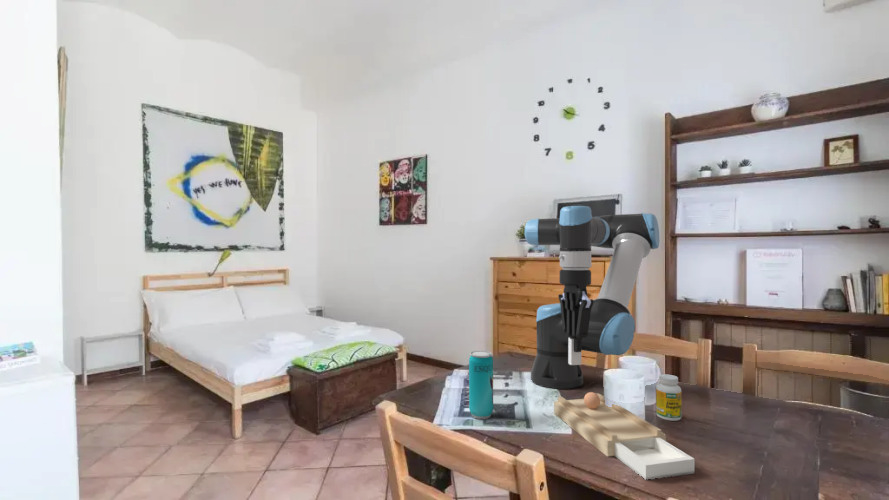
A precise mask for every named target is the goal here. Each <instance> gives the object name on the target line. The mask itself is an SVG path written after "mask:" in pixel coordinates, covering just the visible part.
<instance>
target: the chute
mask: <svg viewBox="0 0 889 500" xmlns="http://www.w3.org/2000/svg"><path fill="white" fill-rule="evenodd" d="M595 393H596V394H597V395H598V396H599V398H600V405H599V406H598V407H597V408H594V409H592V408H589V407H587V406H586V405H585V403H584V398H577V399H576V398H575V399H566V398H564V397H563V396H557V400H554V401H553V403H554V404H553V414H554V415H555V416H556V417H557V418H559V419H560V420H561V419H562V420H561V421H562V422H564V423H565V422H566V423H567V424H566V423H565V424H566V425H567V426H569V427H570V428H571V429H573V431H575V432H576V433H577V434H579V435H580V436H581V437H582V438H584V439H585V440H586V441H587V442H588V443H589V444H591V445H592V446H593V447H595V448H596V449H597V450H599V452H601V453H602V454H604V456H606V457H615V456H614V443H615V442H620V443H621V442H623V443H624V441H629V442H628V443H627V445H628V444H629V443H630V444H631V442H630V441H632V440H636V444H637V443H639V442H637V440H639V441H640V440H642V439H643V440H648V441H649V440H655V439H653V438H657V437H660V438H661V439H663V440H664V441H666V442H667V439H666V438H667V437H666V436H667V435H666V433H664V432H663V431H662V429H660V428H659V427H657V426H655V425H654V424H652V423H650V422H648V421H647V420H645V419H643V418H642V417H640V416H638V415H636V414H635V413H633V412H632V411H630V410H628V409H626V408H625V407H623V406H621V405H619V404H618V405H619V406H618V405H614V404H612V407H608V406H606V405H605V400H604V397H605V396H604V395H602V394H600V393H598V392H595ZM648 438H650V439H648ZM651 438H652V439H651ZM648 441H646V442H648ZM646 442H645V441H644V442H643V443H645V444H647V443H646ZM650 442H651V441H650ZM652 442H653V441H652ZM623 443H621V444H623ZM632 443H634V441H633V442H632ZM625 444H626V442H625ZM630 444H629V445H628V446H630ZM634 444H635V443H634ZM634 444H632V446H633V445H634ZM641 444H642V443H640V444H639V445H641ZM649 444H650V443H649ZM649 444H648V445H649ZM653 445H654V444H653ZM628 446H627V447H628ZM635 446H636V445H635ZM644 446H645V448H646V446H647V445H644ZM644 446H643V448H644ZM654 446H655V445H654ZM633 447H634V446H633ZM636 447H637V448H639V447H638V444H637V446H636ZM636 447H635V448H636ZM640 447H641V446H640ZM628 448H629V449H630V447H628ZM631 448H632V447H631ZM639 449H640V450H642V448H639ZM639 449H637V450H638V451H639ZM648 449H654V448H648ZM630 450H631V451H632V450H633V451H634V450H635V449H630ZM637 450H635V451H637ZM643 450H644V449H643Z"/></svg>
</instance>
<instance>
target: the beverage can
mask: <svg viewBox="0 0 889 500" xmlns="http://www.w3.org/2000/svg"><path fill="white" fill-rule="evenodd" d="M469 354H470V356H469V359H468V408H469V411H470V414H471V416H472V418H474V419H475V420H487V419H490V418H491V416H492V414H493V411H494V358H493V353H492V352H491V351H487V350H474V351H471V352H470V353H469Z"/></svg>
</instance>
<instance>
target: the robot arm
mask: <svg viewBox="0 0 889 500" xmlns="http://www.w3.org/2000/svg"><path fill="white" fill-rule="evenodd" d="M524 237H525V238H524V239H525V240H526V242H527V243H528V244H529V245H531V246H538V247H539V246H559V255H558V259H559V267H560V268H562V269H559V284H560V285H562V286H564V287H563V293H562V294H558V300H559V302H558V303H551V304H550V303H549V304H544V305H540V306H539V307H538V308H537V310H536V320H535V322H536V355H535V358H534V361H533V363H532V364H533V365H532V367H531V371H530V381H531V380H532V381H533V382H532V381H531V382H532V383H534V384H535V383H536V384H535V385H537V384H539V386H540V385H542V386H541V387H544V386H545V387H544V388H549V387H551V388H550V389H560V390H562V389H563V390H564V389H566V390H567V389H568V390H569V389H575V388H578V387H581V386H582V385H583V384H584V375H583V371H582V369H581V365H582V351H584V352H591V353H597V354H603V355H606V356H611V355H612V356H621V355H624V354H625V353H627V352H628V350H629V349H630V348H631V346H632V343H633V340H634V337H635V335H634V332H635V329H636V324H635V319H634V317H633V315H632V314H631V311H630V310H629V308H628V307H629V304H630V300H631V297H632V294H633V291H634V287H635V284H636V281H637V277H638V274H639V272H640V266H641V263H642V261H643V259H644V258H646V257H647V256H648V255H649V254H650V252H651V250H655V249H658V248H659V247H660V229H659V223H658V219H657V217H656V215H655V214H653V213H643V212H641V213H630V214H629V213H628V214H627V213H625V214H607V215H600V216H593V215H592V209H591V207H590V206H587V205H569V206H568V205H567V206H563V207H562V208H561V209H560V211H559V218H534V219H530V220H529V219H528V221H527V222H526V223H525V226H524ZM592 247H594V248H595V247H596V248H603V249H612V250H613V254H612V256H611V259H610V262H609V265H608V268H607V270H606V274H605V276H604V279H603V282H602V285H601V286H600V287H601V288H600V290H599V293H598V295H597V298H594V299H592V298H591V299H590V298H589V297H588V290H587V286H590V285H591V284H592V270H590V268H591V267H592Z"/></svg>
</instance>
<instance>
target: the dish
mask: <svg viewBox="0 0 889 500" xmlns="http://www.w3.org/2000/svg"><path fill="white" fill-rule="evenodd" d="M648 439H650V438H648ZM651 439H652V438H651ZM653 439H655V440H649V441H648V440H643V439H642V440H640V441H639V440H637V442H639V443H637V444H638V447H639V448H642V450H640V449H639V448H637V447H636V446H637V444H636V440H632V441H630V442H631V444H630V443H629V444H630V446H628V445H629V444H628V445H627V443H628V442H629V441H624V443H623V442H621V443H623V444H621V443H620V442H615V443H614V456H613V457H615V458H617V459H618V460H619V462H622V463H623V464H624V465H626V466H627V467H628V469H631V470H632V471H633V472H634V471H635V473H636V474H637V475H638V474H639V475H638V476H640V477H641V476H642V477H643V478H644V481H649V480H648V479H651V480H656V479H655V478H658V479H664V478H663V477H665V478H670V477H671V476H672V477H678V476H685V475H693V474H695V468H696V467H695V458H694V457H692V456H691V455H689V454H687V453H686V452H684V451H682V450H681V449H679V448H677V447H676V446H674V445H672V444H671V443H669V442H668V441H667V440H666V441H664V440H663V439H661V438H660V437H657V438H653ZM633 441H634V443H635V444H634V443H632V442H633ZM644 441H645V442H646V441H648V442H646V443H647V444H645V443H643V442H644ZM650 441H651V442H650ZM652 441H653V442H652ZM625 442H626V444H625ZM640 443H642V444H641V445H639V444H640ZM649 443H650V444H649ZM632 444H634V445H633V446H634V447H633V446H632ZM648 444H649V445H648ZM653 444H654V445H655V446H654V445H653ZM635 445H636V446H635ZM644 445H647V446H646V448H645V446H644ZM627 446H628V447H630V449H635V450H637V449H639V451H638V450H637V451H635V450H634V451H633V450H632V451H631V450H630V449H629V448H628V447H627ZM640 446H641V447H640ZM643 446H644V448H643ZM631 447H632V448H631ZM635 447H636V448H635ZM648 448H654V449H648ZM643 449H644V450H643ZM642 477H641V478H642ZM643 478H642V479H643ZM646 479H647V480H646Z"/></svg>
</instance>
